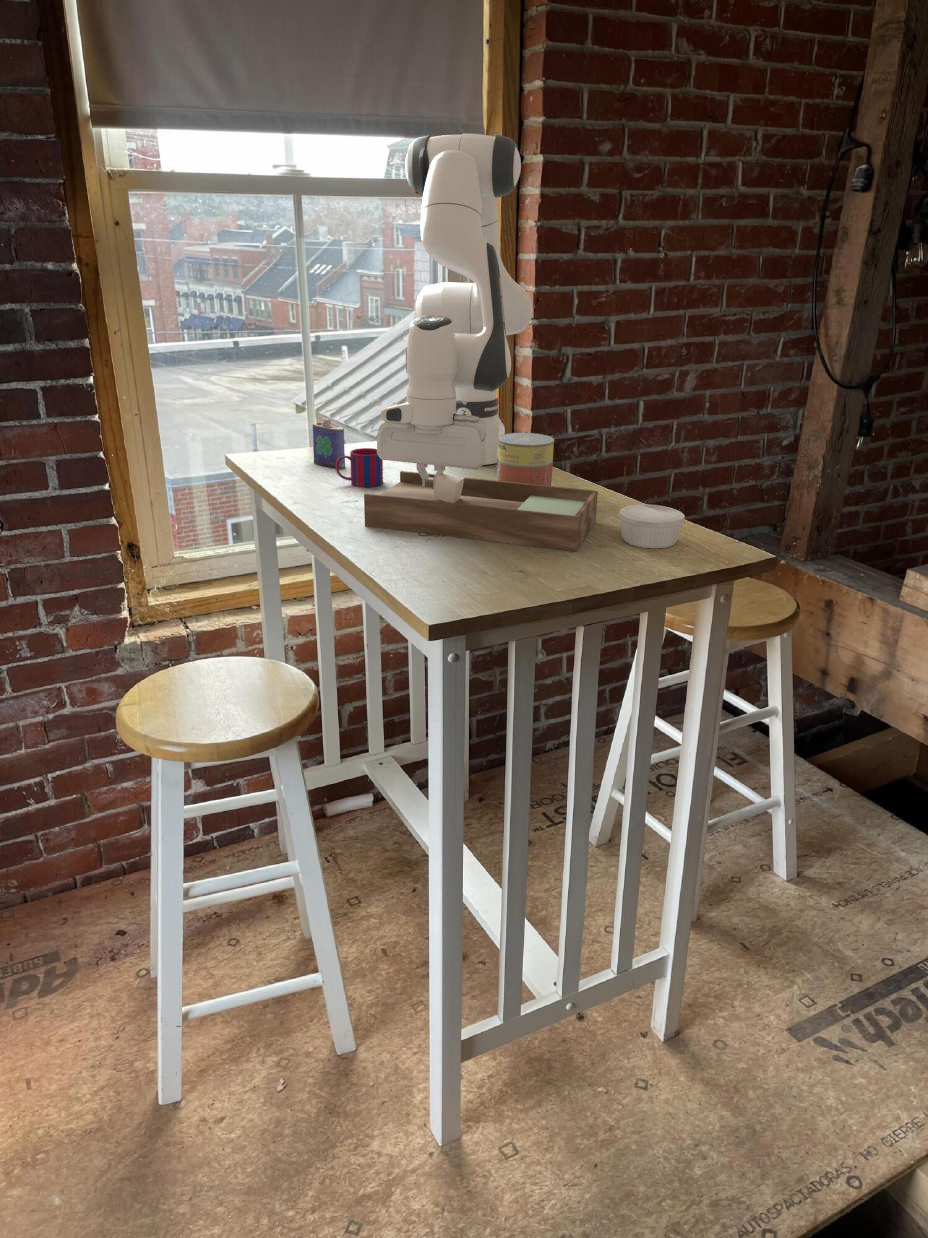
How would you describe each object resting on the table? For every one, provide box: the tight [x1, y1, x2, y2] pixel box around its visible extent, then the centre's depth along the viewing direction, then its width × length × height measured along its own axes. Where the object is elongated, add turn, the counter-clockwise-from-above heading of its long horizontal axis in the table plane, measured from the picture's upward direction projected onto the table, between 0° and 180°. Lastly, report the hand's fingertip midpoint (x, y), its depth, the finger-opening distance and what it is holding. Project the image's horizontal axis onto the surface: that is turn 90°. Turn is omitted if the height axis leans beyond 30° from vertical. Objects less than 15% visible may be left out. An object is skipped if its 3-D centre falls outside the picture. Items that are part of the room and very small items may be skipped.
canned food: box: [496, 432, 555, 486], centre depth 182 cm, size 11×11×12 cm
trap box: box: [363, 470, 599, 553], centre depth 166 cm, size 18×39×6 cm, turn 72°
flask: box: [312, 417, 346, 470], centre depth 204 cm, size 9×3×11 cm, turn 52°
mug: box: [335, 447, 384, 488], centre depth 190 cm, size 7×10×7 cm
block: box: [433, 471, 464, 503], centre depth 166 cm, size 4×4×4 cm
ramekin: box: [618, 503, 686, 549], centre depth 159 cm, size 11×11×5 cm
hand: (430, 487), depth 167 cm, fingers closed
